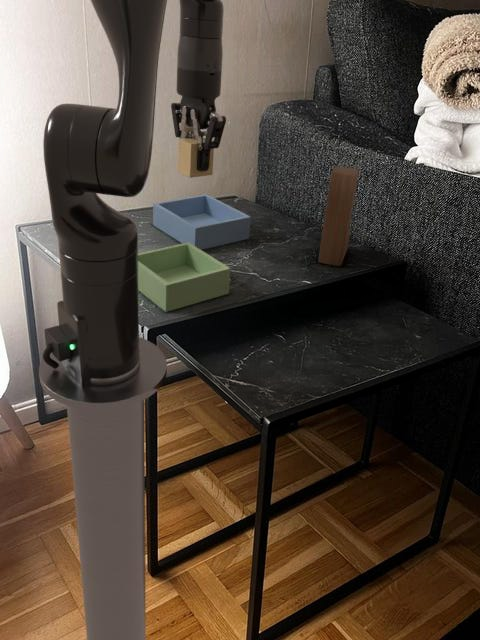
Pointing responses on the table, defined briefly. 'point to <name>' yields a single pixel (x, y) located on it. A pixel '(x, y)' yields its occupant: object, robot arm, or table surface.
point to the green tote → (181, 276)
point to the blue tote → (201, 221)
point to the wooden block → (338, 215)
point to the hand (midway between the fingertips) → (195, 166)
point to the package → (191, 158)
